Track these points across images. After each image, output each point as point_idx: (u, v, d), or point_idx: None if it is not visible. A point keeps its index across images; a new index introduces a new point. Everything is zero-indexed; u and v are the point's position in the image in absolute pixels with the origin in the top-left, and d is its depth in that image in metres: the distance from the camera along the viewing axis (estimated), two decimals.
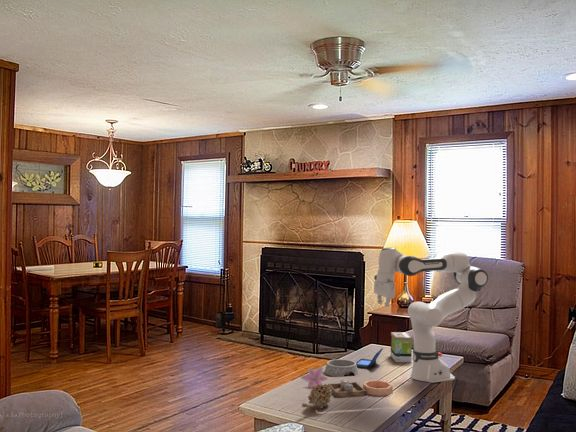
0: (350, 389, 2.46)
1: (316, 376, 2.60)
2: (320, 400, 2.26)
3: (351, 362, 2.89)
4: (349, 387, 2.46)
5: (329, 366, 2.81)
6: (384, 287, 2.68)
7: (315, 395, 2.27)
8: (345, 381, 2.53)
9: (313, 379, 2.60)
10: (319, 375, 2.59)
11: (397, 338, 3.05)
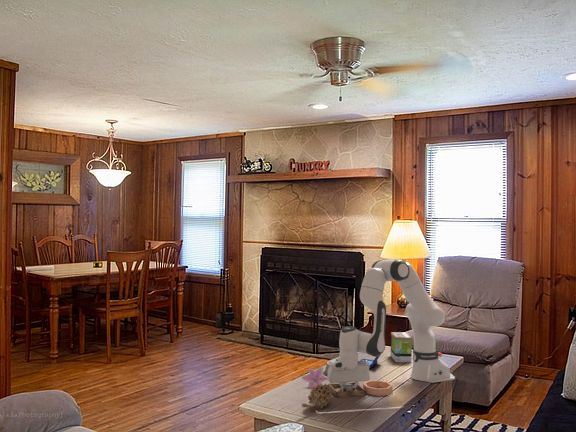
0: (350, 389, 2.46)
1: (316, 376, 2.59)
2: (320, 400, 2.26)
3: None
4: (349, 387, 2.46)
5: None
6: (356, 371, 2.47)
7: (315, 395, 2.27)
8: None
9: (313, 379, 2.59)
10: (319, 375, 2.59)
11: (397, 338, 3.05)
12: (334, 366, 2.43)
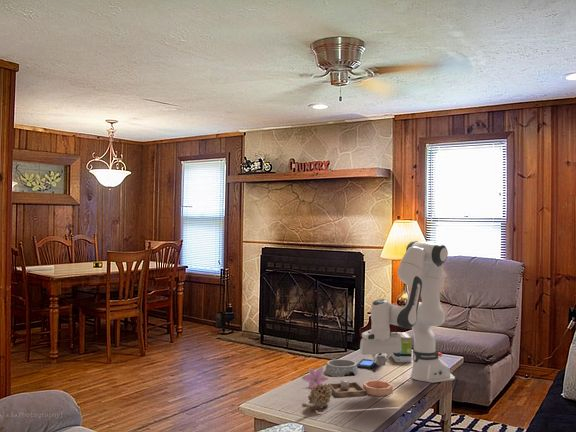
0: (383, 360, 2.50)
1: (317, 376, 2.59)
2: (320, 400, 2.26)
3: (351, 362, 2.89)
4: (382, 358, 2.50)
5: (329, 366, 2.81)
6: (388, 343, 2.51)
7: (315, 395, 2.27)
8: (345, 381, 2.53)
9: (314, 379, 2.59)
10: (320, 375, 2.58)
11: None
12: (367, 338, 2.48)
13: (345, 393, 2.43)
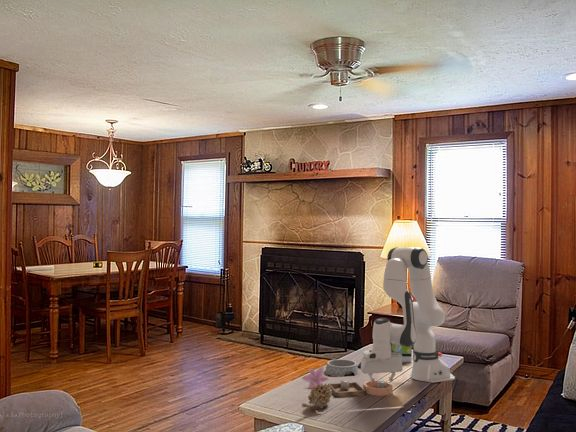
0: (383, 386, 2.50)
1: (317, 376, 2.59)
2: (320, 400, 2.26)
3: (351, 362, 2.89)
4: (382, 384, 2.50)
5: (329, 366, 2.81)
6: (389, 362, 2.51)
7: (315, 395, 2.27)
8: (345, 381, 2.53)
9: (314, 380, 2.59)
10: (320, 375, 2.58)
11: None
12: (368, 357, 2.47)
13: (345, 393, 2.43)
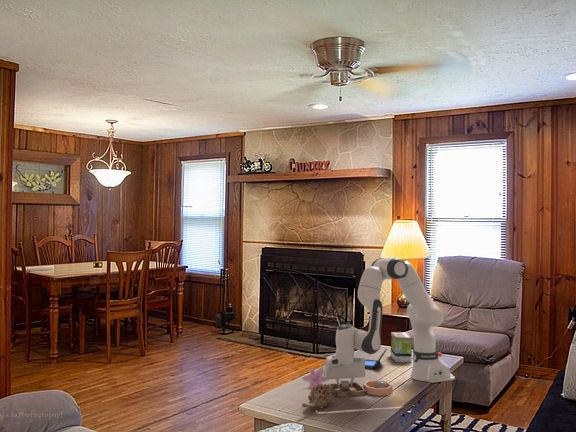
0: (384, 386, 2.50)
1: (317, 377, 2.59)
2: (320, 400, 2.26)
3: None
4: (383, 384, 2.50)
5: None
6: (352, 368, 2.53)
7: (315, 395, 2.27)
8: (345, 381, 2.53)
9: (314, 380, 2.58)
10: (320, 376, 2.58)
11: (397, 338, 3.05)
12: (330, 363, 2.49)
13: (345, 393, 2.43)
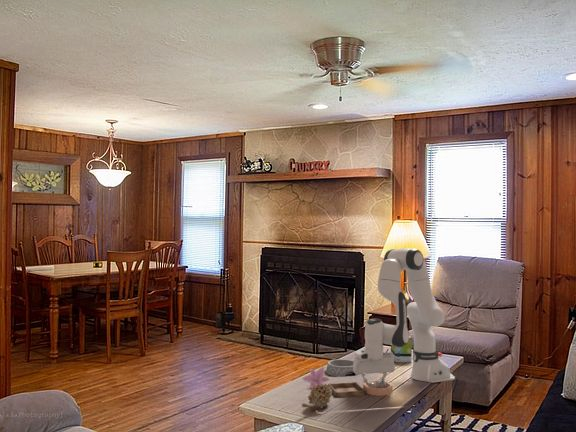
0: (384, 386, 2.50)
1: (318, 377, 2.58)
2: (320, 400, 2.26)
3: (352, 362, 2.89)
4: (383, 384, 2.50)
5: (330, 366, 2.81)
6: (381, 362, 2.50)
7: (315, 395, 2.27)
8: (372, 383, 2.50)
9: (315, 380, 2.58)
10: (321, 376, 2.58)
11: None
12: (360, 357, 2.47)
13: (345, 393, 2.43)
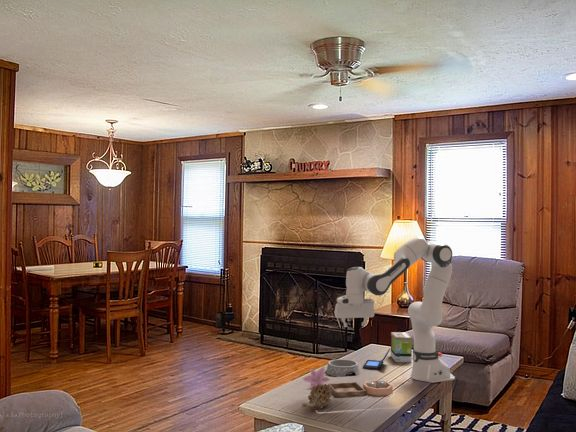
0: (384, 386, 2.50)
1: (318, 377, 2.58)
2: (320, 400, 2.26)
3: (353, 362, 2.89)
4: (383, 384, 2.50)
5: (330, 366, 2.81)
6: (361, 308, 2.63)
7: (315, 395, 2.27)
8: (372, 383, 2.50)
9: (315, 380, 2.58)
10: (321, 376, 2.57)
11: (397, 338, 3.05)
12: (341, 302, 2.59)
13: (345, 393, 2.43)
